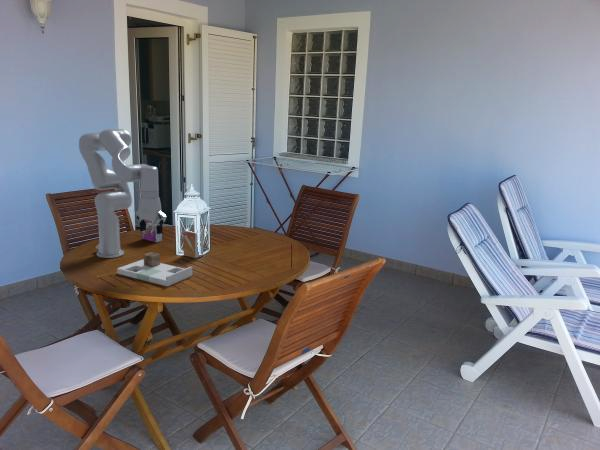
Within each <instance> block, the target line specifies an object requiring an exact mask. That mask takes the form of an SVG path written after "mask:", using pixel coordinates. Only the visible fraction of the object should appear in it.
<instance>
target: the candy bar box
mask: <svg viewBox="0 0 600 450" xmlns="http://www.w3.org/2000/svg"><path fill="white" fill-rule="evenodd" d="M145 221H146V230H144V231H141V237H142V238H141V239H142V240H145V241H148V242H153V243H160V242H163V233H161V234H157V232H156V226H157V223H156V222H155V221H148V220H145ZM158 221H159V220H158Z"/></svg>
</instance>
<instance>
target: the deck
mask: <svg viewBox="0 0 600 450" xmlns="http://www.w3.org/2000/svg"><path fill="white" fill-rule="evenodd" d="M116 272H117V274H118V275H121V276H124V277H129V278H133V279H136V280H137V279H138V280H139V281H140V280H141V281H144V282H149V283H152V284H157V285H160V286H163V287H170V286H172V285H175V284H176V283H179V282H182V281H184V280H185V279H188V278H190V277H192V276H193V266H188V267H186V268H184V267H178V266H176V265H170V264H168V263H167V264H166V263H162V262H160V265H157V266H154V267H149V266H145V265H144V258H143V259H140V260H137V261H134V262H131V263H129V264H126V265H123V266H120V267H118V268H117V271H116Z"/></svg>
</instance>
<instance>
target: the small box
mask: <svg viewBox="0 0 600 450" xmlns="http://www.w3.org/2000/svg"><path fill="white" fill-rule="evenodd" d="M183 231H184V230H183ZM182 239H183V240H182V243H183V244H182V247H183V248H182V249H183V251H182V252H184V255H183V256H185V257H190V258H193V259H197V258H200V257H201V256H200V255H199V252H198V247H197V245H198V243H197V234H196V233H195V232H192V231H184V233H183V232H182ZM200 241H201V243H200V246H201V254H202V256H204V230H201V236H200ZM199 256H200V257H199Z"/></svg>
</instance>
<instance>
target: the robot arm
mask: <svg viewBox="0 0 600 450" xmlns="http://www.w3.org/2000/svg"><path fill="white" fill-rule="evenodd" d="M131 143H132V137H131V135H130V133H129V132H128V131H127V130H126V129H123V128H121V129H120V128H118V129H116V128H112V129H108V128H107V129H104V130H102V131H100V132H90V133H85V134H84V133H83V134H82V135H81V136H80V137H79V139H78V148H79V149H78V150H79V152H80V154H81V157H82V159H83V160H84V162H85V164H86V167H87V170H88V173H89V176H90V180H91V183H92V185H93V188H94V189H95V190H99V191H102V192H99V193H98V194H96V196H95V197H94V206H95V209H96V213H97V223H98V224H97V226H98V238H99V241H98V244H97V245H96V246H95V248H96V249H98V251H97V252H96V256H97V257H98V258H103V259H114V258H118V257H121V256H123V255H124V254H125V251H124V250H123V249H121V237H120V236H121V235H120V234H121V233H120V232H121V231H120V219H119V216H118V215H117V214H116V213H115V211H119V210H126V209H129V208H130V207H131V206H132V203H133V198H132V194H131V191H130V187H129V185H128V183H135V182H140V192H139V194H140V196H139V199H138V210H136V211H135V212H134V213H135V216H136V219H137V220H138V223H139V231H140V232H142V231H144V230H146V221H145V220H148V221H155V222H156V223H157V226H156V232H157V234H161V233H162V234H163V229H164V228H163V225H164V224H165V222H166V219H167V215H166V214H165V213H164V212H163V210H162V202H161V199H160V195H159V193H160V192H159V191H160V190H159V188H160V187H159V169H158V167H157V166H153V165H149V164H146V163H137V164H125V163H124V161H126V160H127V159H128V158H129V157H130V155H131V148H130V147H129V146H130V145H131ZM97 151H103V152H105V151H106V152H107V153H108V154H109V155H110V156H111V157H112V159H111V168H112V169H109V168H108V167H107V164H106V161H105V159H104V157H102V155H101V154H99V153H98V152H97ZM113 189H114V190H113ZM105 190H110V191H105ZM158 220H159V221H158Z"/></svg>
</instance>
